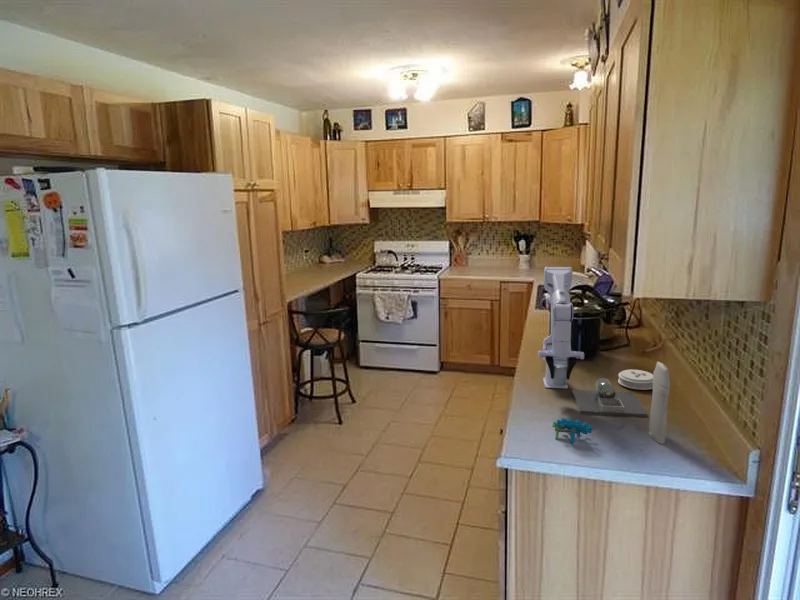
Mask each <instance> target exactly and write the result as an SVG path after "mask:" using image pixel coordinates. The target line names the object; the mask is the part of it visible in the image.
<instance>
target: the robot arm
mask: <svg viewBox="0 0 800 600" xmlns="http://www.w3.org/2000/svg"><path fill="white" fill-rule="evenodd" d="M572 283H573V268H572V267H571V266H545V267H544V269H543V287H544V290H545V291H546V292H547V293H549V296H550V335H549V336H547V337H545V338H544V339H543V342H542V350H538V351H537V357H538V359H543V361H545V377H543V378H542V380H543V384H544V388H547V389H566V390H567V389H568V388H569V386H568V384H567V385H565V386H557V385H554V384H553V366H554V365H557V364H560V365H565V366H567V381H569V380H570V378H571V374H572V371H573V369H574V367H575V366H576V365H577V362H578V360H577V359H580V360H584V359H585V353H584V351H576V350H572V346H571V337H572V335H571V334H572V322H573V319H574V305H573V303H572V302H571V298H570V293H569V291H570V290H571V288H572V287H571V286H572Z"/></svg>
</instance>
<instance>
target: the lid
mask: <svg viewBox="0 0 800 600" xmlns="http://www.w3.org/2000/svg"><path fill="white" fill-rule="evenodd" d="M653 374H654V373H651V372H650V371H649V372H648V371H646V370H640V369H625V370H624V369H623V370H622V371H620V372H618V374H617V376H618V380H617V383H618V384H619V385H621V386H622V387H625V388H628V389H632V390H642V391H643V390H644V391H647V390H653Z"/></svg>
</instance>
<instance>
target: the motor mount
mask: <svg viewBox="0 0 800 600" xmlns="http://www.w3.org/2000/svg"><path fill="white" fill-rule="evenodd" d="M594 386H595V388H596V389H595V390H589V389H588V390H585V389H572V395H573V398H574V400H575V403H576V406H577V408H578V411H579V413H580V414H582V415H595V416H599V415H601V416H614V417H615V416H616V417H617V416H618V417H619V416H620V417H634V418H635V417H637V418H639V417H641V418H648V412H647V411H646V410H645V409H644V407H643V406H642V403H641V402H640V401H639V400H638V399H637V397H636V395H635V394H634V392H632V391H629V392H628V391H616V390H615V388H614V387H613V386H612V383H611V382H610V380H609V379H608V378H604V377H601V378H598V379H596V382H595V384H594Z"/></svg>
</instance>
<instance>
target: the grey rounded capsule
mask: <svg viewBox="0 0 800 600" xmlns="http://www.w3.org/2000/svg"><path fill="white" fill-rule="evenodd" d="M567 381H568V380H567V365H566V366H565V365H560V364H557V365H554V366H553V384H554V385H557V386H565V385H567V386H568V384H567Z"/></svg>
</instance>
